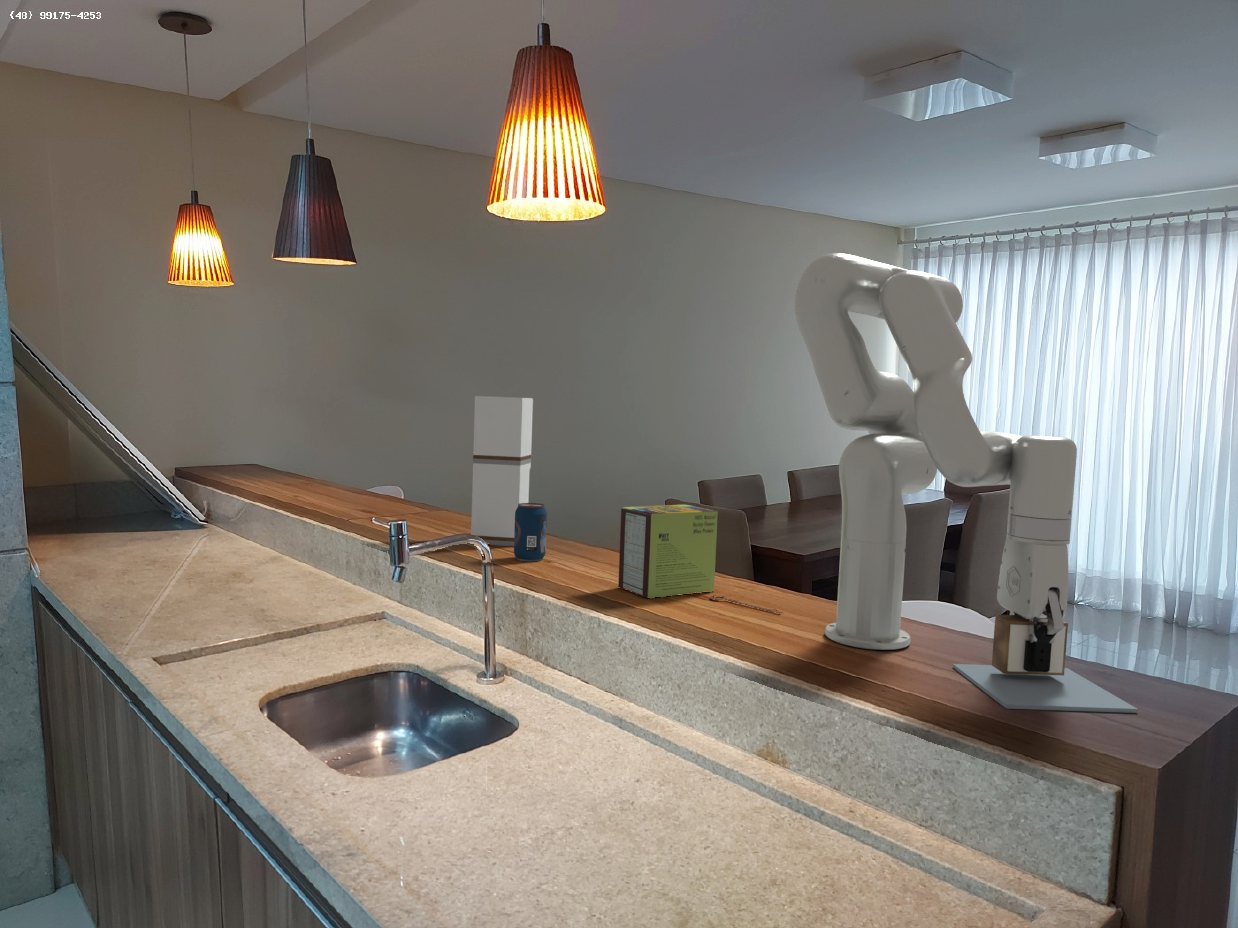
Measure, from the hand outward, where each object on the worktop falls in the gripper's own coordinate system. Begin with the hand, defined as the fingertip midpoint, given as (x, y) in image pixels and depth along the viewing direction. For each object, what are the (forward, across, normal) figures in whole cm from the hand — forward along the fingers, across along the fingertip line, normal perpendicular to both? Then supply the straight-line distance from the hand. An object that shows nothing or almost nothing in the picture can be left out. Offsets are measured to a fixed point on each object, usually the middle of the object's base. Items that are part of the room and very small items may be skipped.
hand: (1027, 664), depth 114 cm
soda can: (+3, -74, -73) cm, 104 cm away
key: (+3, -38, -31) cm, 49 cm away
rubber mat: (+2, +3, 0) cm, 4 cm away
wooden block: (+1, 0, 0) cm, 1 cm away
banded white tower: (+3, -95, -82) cm, 126 cm away
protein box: (+3, -48, -45) cm, 66 cm away
